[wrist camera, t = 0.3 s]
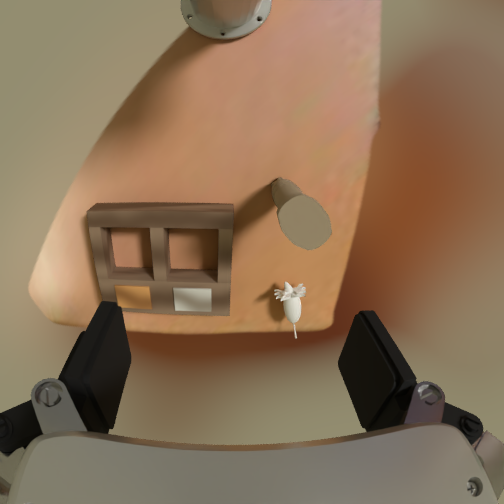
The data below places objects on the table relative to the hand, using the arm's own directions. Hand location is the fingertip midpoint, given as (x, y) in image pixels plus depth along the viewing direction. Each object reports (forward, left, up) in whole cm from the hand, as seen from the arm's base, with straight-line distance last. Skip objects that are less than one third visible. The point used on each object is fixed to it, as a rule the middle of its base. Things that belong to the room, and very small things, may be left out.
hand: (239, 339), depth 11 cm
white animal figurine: (+24, +12, -35) cm, 44 cm away
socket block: (+15, -10, -35) cm, 39 cm away
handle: (+3, +8, -35) cm, 36 cm away
